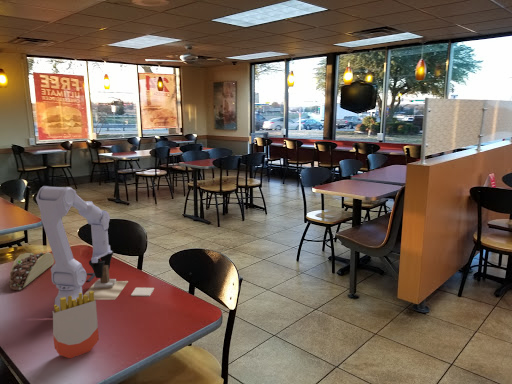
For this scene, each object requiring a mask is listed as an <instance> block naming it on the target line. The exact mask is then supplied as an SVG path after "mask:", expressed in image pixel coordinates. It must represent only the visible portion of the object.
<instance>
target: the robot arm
mask: <svg viewBox="0 0 512 384" xmlns="http://www.w3.org/2000/svg"><path fill="white" fill-rule="evenodd" d="M35 200H36V203H37V206H38V209H39V212H40V219H41V223H42V226H43V229H44V232H45V235H46V238H47V240H48V244H49V247H50V250H51V253H52V255H53V257H54V264H53V265H51V268H50V273H51V282H52V284H53V285H55V288H56V289H58V293H57V294H56V295H57V296H56V297H55V298H54V305H57V306H59V308H60V298H63V297H65V298H66V302H67V301H68V296H72V300H73V299H75V300H76V298H77V297H79V293H82V299H83V295H84V294H83V286H84V284H85V283H86V281H87V277H88V275H87V274H86V273H87V271H86V270H85V268H84V266H83V265H82V263H81V262H79V261H78V260H77V259H75V258H74V254H73V252H72V249H71V245H70V243H69V239H68V236H67V233H66V230H65V226H64V224H63V220H62V218H63V217H65V216H67V214H68V213H69V211H70V209H71V208H72V207H73V208H75V209H76V210H77V213H78V214H79V215H80V216H81V217H83V218H84V219H85V220H86V222H87V224H88V225H90V228H91V239H92V240H91V241H92V257H91V259H90V260H89V261H88V265H89V266H90V267H91V268H92V271H93V273H95V278H96V279H100V278H102V276H103V266H104V265H108V267H109V269H110V268H111V261H112V258H113V255H114V250H111V245H110V244H109V234H108V233H109V232H108V229H109V226H110V225H109V223H110V221H111V220H110V219H111V216H110V214H109V212H108V211H107V210H103V209H100V207H99V206H97V205H95V204H94V202H93V201H92V200H88V201H87V200H86V201H85V200H84V199H83V198H81V197H80V196H79V195H78V194H77V190H75V189H73V188H72V187H71V186H66V187H65V186H64V187H63V186H49V185H43V186H42V187H40V188H39V190H38V192H37V195H36V196H35ZM76 303H77V300H76ZM67 304H68V302H67ZM60 311H61V310H60Z"/></svg>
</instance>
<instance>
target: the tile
mask: <svg viewBox="0 0 512 384" xmlns="http://www.w3.org/2000/svg"><path fill="white" fill-rule="evenodd" d="M154 291H155V287H135V288H134V290H133V291H132V293H131V294H130V296H131V297H150V296H151V295H152V294H153V292H154Z"/></svg>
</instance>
